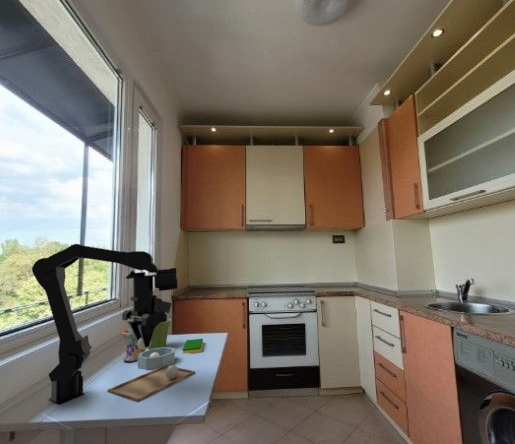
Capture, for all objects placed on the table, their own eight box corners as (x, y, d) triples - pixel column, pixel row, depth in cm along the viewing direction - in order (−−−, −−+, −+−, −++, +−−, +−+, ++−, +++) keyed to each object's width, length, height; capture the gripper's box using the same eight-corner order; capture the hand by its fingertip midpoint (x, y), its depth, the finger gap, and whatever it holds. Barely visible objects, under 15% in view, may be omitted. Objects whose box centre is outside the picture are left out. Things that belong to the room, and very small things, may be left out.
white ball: (153, 366, 98) (153, 355, 98) (146, 365, 100) (146, 353, 100) (162, 362, 101) (162, 351, 101) (155, 361, 103) (155, 350, 103)
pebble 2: (171, 382, 83) (171, 368, 84) (163, 380, 85) (162, 366, 86) (181, 377, 87) (181, 364, 87) (173, 375, 89) (172, 362, 89)
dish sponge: (182, 355, 110) (182, 349, 111) (186, 345, 124) (186, 340, 124) (201, 353, 111) (200, 347, 112) (203, 344, 125) (203, 338, 125)
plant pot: (170, 350, 117) (169, 322, 119) (139, 354, 115) (139, 325, 117) (172, 342, 129) (172, 317, 130) (145, 346, 126) (144, 319, 128)
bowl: (153, 372, 93) (153, 360, 94) (131, 367, 100) (131, 355, 100) (181, 360, 103) (181, 349, 104) (160, 356, 110) (159, 345, 110)
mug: (145, 361, 105) (144, 331, 107) (118, 364, 104) (118, 334, 105) (151, 351, 117) (151, 325, 118) (128, 354, 115) (127, 327, 117)
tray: (137, 403, 72) (137, 399, 73) (107, 393, 80) (107, 389, 80) (195, 374, 89) (195, 371, 89) (165, 368, 97) (165, 365, 97)
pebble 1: (140, 352, 82) (140, 338, 83) (135, 350, 85) (135, 337, 86) (153, 349, 85) (153, 335, 86) (147, 347, 88) (147, 334, 88)
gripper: (182, 289, 87) (184, 343, 85) (154, 289, 100) (155, 335, 97) (146, 294, 79) (147, 354, 77) (121, 293, 92) (121, 343, 90)
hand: (144, 345), depth 85 cm, fingers closed on pebble 1, 4 cm apart
